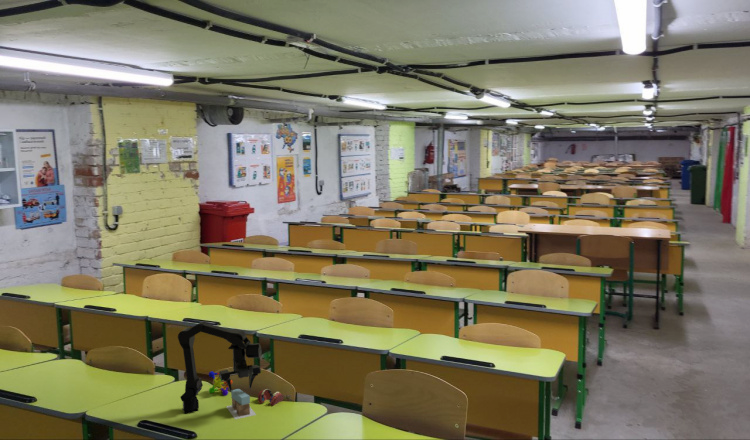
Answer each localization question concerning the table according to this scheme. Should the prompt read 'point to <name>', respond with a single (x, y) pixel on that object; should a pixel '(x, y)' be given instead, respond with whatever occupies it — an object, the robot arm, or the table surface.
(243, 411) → the post
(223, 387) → the molecular model
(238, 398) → the light blue block
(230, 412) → the mat
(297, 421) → the table surface
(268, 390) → the teeth model
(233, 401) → the post
